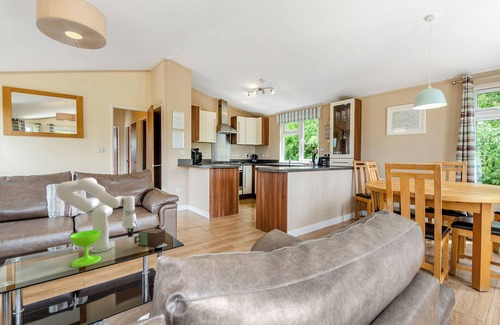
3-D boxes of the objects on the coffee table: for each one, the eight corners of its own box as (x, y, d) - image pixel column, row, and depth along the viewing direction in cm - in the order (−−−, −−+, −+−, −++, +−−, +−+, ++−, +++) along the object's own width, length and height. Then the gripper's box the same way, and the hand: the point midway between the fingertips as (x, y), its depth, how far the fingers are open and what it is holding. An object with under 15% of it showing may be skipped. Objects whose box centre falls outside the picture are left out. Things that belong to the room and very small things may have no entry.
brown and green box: (137, 245, 172) (137, 232, 172) (149, 240, 183) (149, 228, 183) (154, 247, 167) (154, 234, 167) (165, 242, 178) (165, 229, 178)
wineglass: (106, 258, 150) (106, 231, 150) (80, 269, 135) (79, 239, 135) (91, 254, 157) (91, 229, 156) (65, 264, 142) (64, 236, 142)
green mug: (133, 246, 168) (133, 234, 168) (139, 243, 173) (139, 232, 173) (142, 247, 165) (142, 235, 165) (148, 244, 171) (147, 233, 171)
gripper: (117, 213, 169) (118, 237, 169) (133, 213, 164) (134, 239, 164) (125, 211, 176) (126, 234, 176) (141, 211, 171) (142, 235, 171)
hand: (130, 236), depth 170 cm, fingers closed
